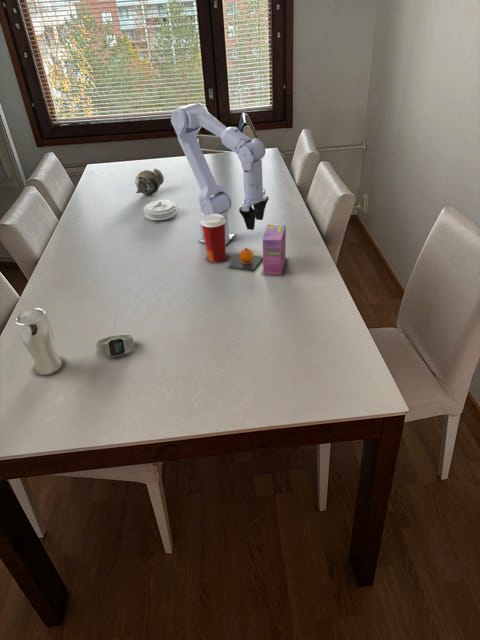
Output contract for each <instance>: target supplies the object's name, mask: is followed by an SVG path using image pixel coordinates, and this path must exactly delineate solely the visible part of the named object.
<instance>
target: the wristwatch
mask: <svg viewBox="0 0 480 640" xmlns="http://www.w3.org/2000/svg"><path fill="white" fill-rule="evenodd" d="M133 347H135V344H134V338H133V334H131V333H122V334H111V335H108V336H106V337H103V338H100V339H99V340H97V341H95V348H96V352H97V354H99V355H106V356H111V357H113V358H116V357H119V356H124V354H125V353H126V352H127V351H129V350H130V349H132V348H133Z"/></svg>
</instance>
